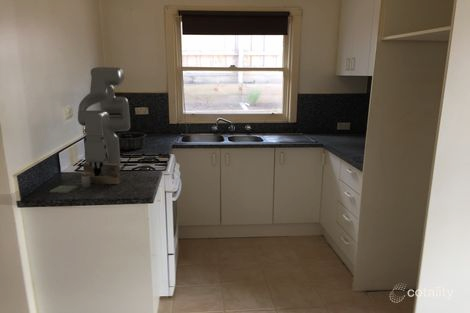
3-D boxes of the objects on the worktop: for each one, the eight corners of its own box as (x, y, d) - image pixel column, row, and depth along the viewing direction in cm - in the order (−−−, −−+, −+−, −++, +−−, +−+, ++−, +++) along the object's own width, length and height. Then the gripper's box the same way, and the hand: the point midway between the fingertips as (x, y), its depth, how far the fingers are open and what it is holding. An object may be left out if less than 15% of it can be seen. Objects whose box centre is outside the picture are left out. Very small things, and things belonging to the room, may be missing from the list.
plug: (84, 184, 186) (83, 171, 184) (92, 185, 185) (91, 172, 184) (80, 187, 182) (79, 173, 181) (88, 187, 182) (87, 174, 180)
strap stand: (87, 181, 192) (86, 162, 190) (120, 182, 190) (118, 164, 188) (84, 182, 190) (83, 164, 187) (117, 184, 187) (116, 165, 185)
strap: (109, 170, 186) (109, 168, 186) (114, 170, 186) (114, 168, 185) (99, 175, 175) (99, 173, 175) (103, 176, 175) (103, 174, 175)
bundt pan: (141, 151, 267) (141, 138, 265) (106, 151, 267) (105, 137, 265) (150, 144, 292) (150, 132, 290) (118, 144, 293) (117, 132, 291)
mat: (60, 186, 183) (60, 185, 183) (77, 187, 182) (77, 186, 182) (49, 192, 174) (49, 190, 174) (67, 193, 173) (67, 191, 173)
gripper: (113, 137, 176) (115, 174, 180) (84, 136, 178) (87, 172, 182) (106, 140, 169) (108, 178, 173) (75, 139, 171) (79, 177, 175)
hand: (97, 175), depth 177 cm, fingers closed
